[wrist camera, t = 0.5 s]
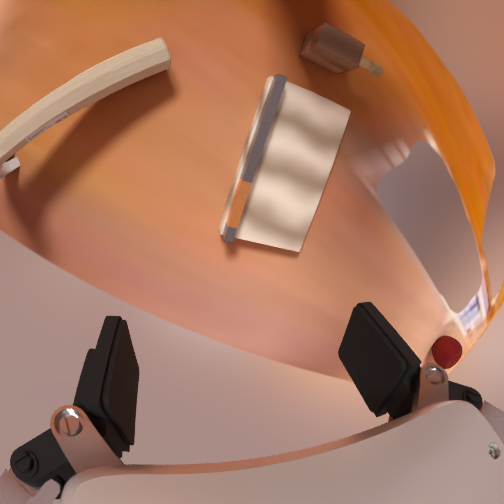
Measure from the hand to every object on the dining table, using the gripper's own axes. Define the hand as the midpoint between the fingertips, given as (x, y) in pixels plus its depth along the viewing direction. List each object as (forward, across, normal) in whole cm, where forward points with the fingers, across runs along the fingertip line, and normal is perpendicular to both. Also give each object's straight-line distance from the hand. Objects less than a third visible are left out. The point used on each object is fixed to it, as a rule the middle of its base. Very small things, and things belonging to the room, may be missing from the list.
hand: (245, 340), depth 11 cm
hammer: (+29, +20, -11) cm, 37 cm away
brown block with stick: (+29, -17, -20) cm, 39 cm away
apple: (+29, -68, +42) cm, 85 cm away
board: (+29, -10, -3) cm, 31 cm away
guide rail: (+27, -5, -4) cm, 27 cm away
